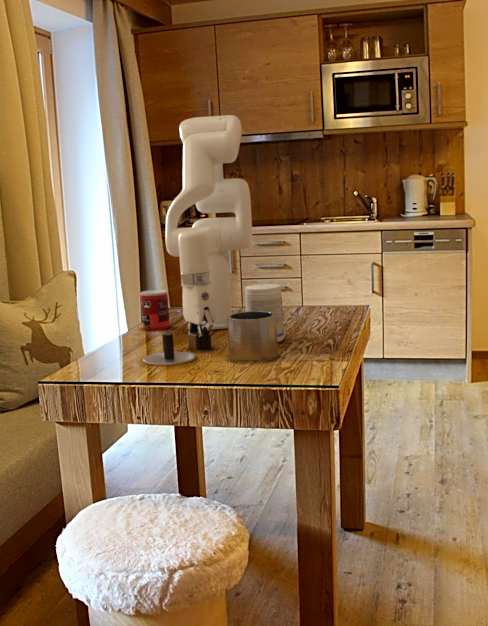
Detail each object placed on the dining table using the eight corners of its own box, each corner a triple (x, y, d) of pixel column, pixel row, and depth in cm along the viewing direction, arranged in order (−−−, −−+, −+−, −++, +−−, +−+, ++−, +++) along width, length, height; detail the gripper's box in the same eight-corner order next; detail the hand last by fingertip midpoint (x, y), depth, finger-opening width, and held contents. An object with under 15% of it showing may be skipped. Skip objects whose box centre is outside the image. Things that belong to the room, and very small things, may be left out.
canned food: (142, 326, 250) (139, 290, 248) (169, 324, 250) (166, 288, 248) (143, 331, 242) (140, 294, 240) (170, 329, 243) (167, 292, 241)
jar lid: (135, 361, 205) (133, 333, 204) (181, 353, 211) (179, 326, 210) (156, 371, 194) (153, 342, 193) (204, 362, 200) (202, 334, 198)
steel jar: (221, 357, 204) (218, 315, 202) (261, 350, 209) (259, 309, 207) (244, 366, 194) (242, 322, 192) (286, 358, 199) (284, 315, 197)
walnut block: (188, 349, 215) (187, 332, 214) (203, 346, 217) (202, 330, 216) (196, 352, 211) (195, 335, 210) (211, 349, 213) (210, 333, 212)
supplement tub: (291, 340, 217) (289, 285, 215) (263, 346, 212) (260, 290, 210) (268, 335, 226) (265, 282, 223) (240, 341, 220) (237, 287, 218)
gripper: (224, 280, 205) (228, 352, 208) (194, 274, 220) (198, 341, 223) (197, 284, 202) (202, 357, 205) (168, 277, 216) (173, 345, 220)
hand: (200, 348), depth 214 cm, fingers closed on walnut block, 4 cm apart
